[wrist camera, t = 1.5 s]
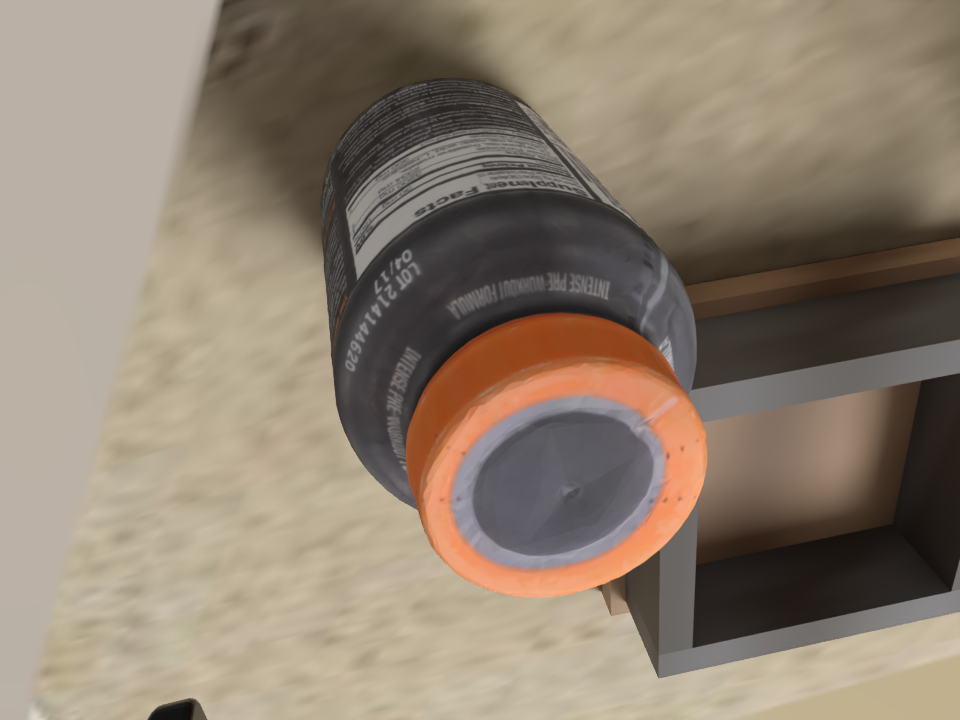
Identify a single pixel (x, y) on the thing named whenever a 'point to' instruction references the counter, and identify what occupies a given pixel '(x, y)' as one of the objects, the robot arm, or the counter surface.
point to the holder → (814, 462)
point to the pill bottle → (507, 342)
